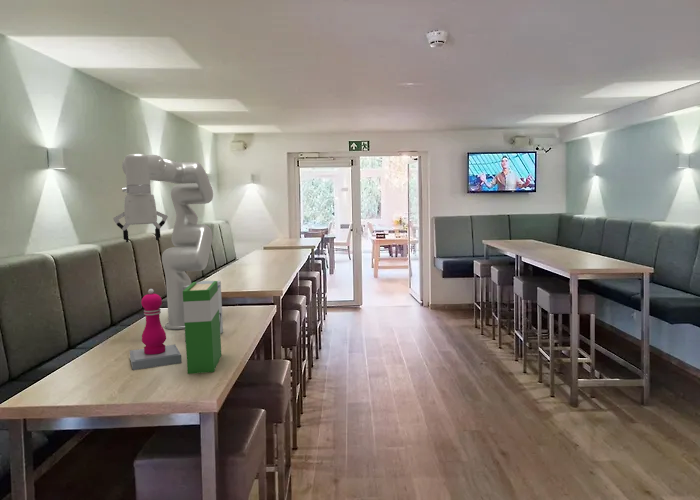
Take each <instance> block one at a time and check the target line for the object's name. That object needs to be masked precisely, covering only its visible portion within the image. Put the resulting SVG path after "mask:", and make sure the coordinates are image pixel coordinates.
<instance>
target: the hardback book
mask: <svg viewBox="0 0 700 500" xmlns="http://www.w3.org/2000/svg"><path fill="white" fill-rule="evenodd" d="M213 281H214V282H213V283H212V284H196V283H197V281H193V282H191V285H189V286H188V287H187V288H186V289H185V290H184V291H183V306H184V322H185V329H184V340H185V339H186V342H185V350H186V351H185V352H186V354H185V355H186V369H187V375H190V374H191V375H192V374H206V373H215V371H216V369H217V366H218V364H219V362H220V360H221V357H222V342H221V341H222V340H221V339H222V338H221V334H220V319H219V301H218V284H217V281H218V280H213Z"/></svg>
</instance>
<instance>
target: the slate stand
mask: <svg viewBox="0 0 700 500" xmlns="http://www.w3.org/2000/svg"><path fill="white" fill-rule="evenodd" d="M129 359H130V363H131V370H133V371H135V370H136V371H137V370H141V369H142V370H143V369H150V368H157V367H161V366H162V367H163V366H169V365H175V364H176V365H177V364H182V363H183V362H182V354H181V352H180V350H179V349H178V346H177V345H176V344H168V345H167V344H166V345H165V352H163V353H160V354H152V355H149V354H145V353H144V348H140V349H139V348H138V349H131V350H129Z"/></svg>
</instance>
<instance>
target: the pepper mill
mask: <svg viewBox="0 0 700 500" xmlns="http://www.w3.org/2000/svg"><path fill="white" fill-rule="evenodd" d="M154 292H155V290H154V289H153V288H149V289H148V291H147V294H145V295H144V296H143V297H142V298H141V300H140V301H141V306H142V308H143V309H144V310H143V315H144V316H145V327H144V329H143V331H142V335H141V342H142V344H144V345H145V346H144V347H143V349H144V353H145V354H149V355H152V354H160V353H163V352H165V346H166V345H165V344H164V343H165V342H166V340H167V333H166V331H165V329H164V327H163V326H162V323H161V319H160V315H161V313H162V311H161V306H162V304H163V302H162V301H163V300H162V297H161V296H160V295H159V294H157V293H154Z"/></svg>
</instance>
